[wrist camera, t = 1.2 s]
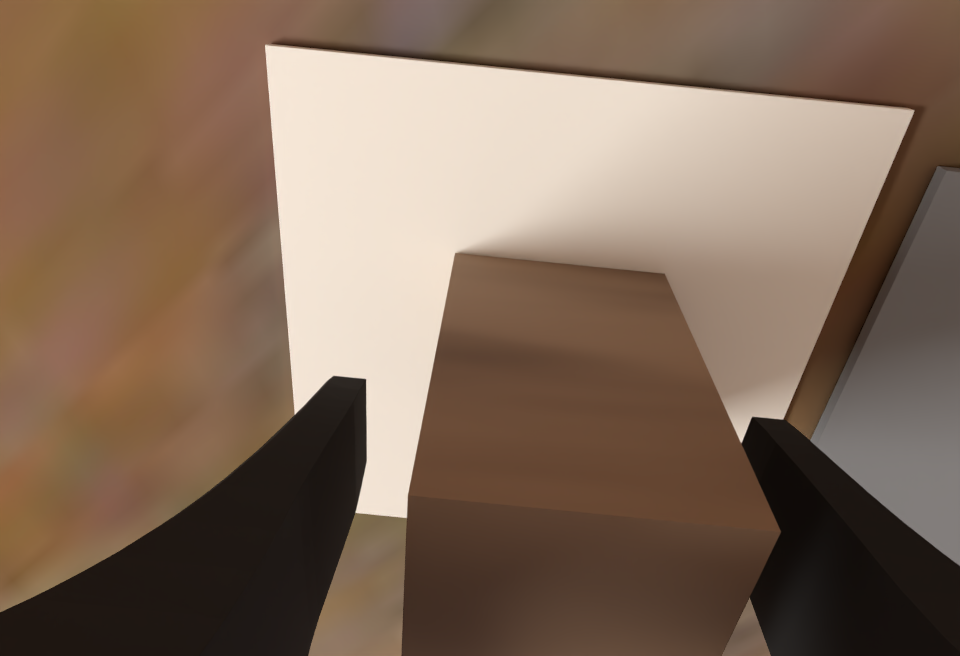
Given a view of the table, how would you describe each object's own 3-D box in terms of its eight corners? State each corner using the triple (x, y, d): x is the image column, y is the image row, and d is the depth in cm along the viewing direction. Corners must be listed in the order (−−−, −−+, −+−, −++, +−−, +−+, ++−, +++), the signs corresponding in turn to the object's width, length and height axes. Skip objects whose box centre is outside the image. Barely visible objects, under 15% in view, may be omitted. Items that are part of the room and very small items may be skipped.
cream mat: (725, 543, 18) (728, 550, 18) (304, 502, 18) (302, 508, 18) (909, 108, 12) (915, 111, 12) (268, 44, 12) (264, 45, 12)
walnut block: (622, 434, 16) (686, 729, 10) (443, 417, 16) (399, 701, 10) (664, 273, 14) (780, 532, 8) (454, 252, 14) (407, 495, 8)
